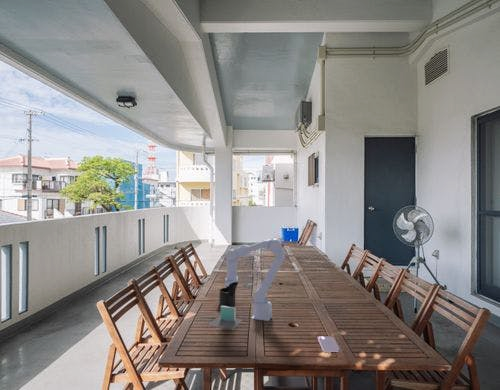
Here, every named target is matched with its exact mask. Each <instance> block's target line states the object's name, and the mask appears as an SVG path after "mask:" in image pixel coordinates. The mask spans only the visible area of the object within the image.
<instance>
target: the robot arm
mask: <svg viewBox="0 0 500 390" xmlns="http://www.w3.org/2000/svg"><path fill="white" fill-rule="evenodd" d="M260 249H266V250H270V251H271V252H272V254H273V255H274V259H273V262H272V263H271V266H270V267H269V269H268V271H267V273H266V274H265V277H264V279H263V280H262V282H261V284H260V286H258V287H257V289H256V290H255V292H254V293H253V296H252V297H253V315H252V317H251V319H253V320H260V321H266V322H269V321H270V320H271V318H272V317H273V305H272V302H271V301H268V298H267V296H268V292H269V291H268V290H269V289H270V287H271V285H272V283H273V281H274V279H275V277H276V275H277V274H278V272H279V270H280V269H281V266H282V264H283V263H284V261H285V259H286V253H285V243H284V241H283V239H281V237H274V238H268V239H263V240H262V241H259V242H256V243H254V244H251V245H248V244H241V245H240V246H238V247H233V248H231V249H229V250H228V251H226V253H225V259H226V277H225V278H224V281H225V282H224V287H225V288H227V289H228V293H229V296H231V297H233V296H234V294H235V295H236V290H237V287H238V284H239V282H238V280H239V276H238V259H240V258H243V257H246V256H249V255H250V254H251V252H254V251H258V250H260Z"/></svg>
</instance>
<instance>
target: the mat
mask: <svg viewBox="0 0 500 390" xmlns="http://www.w3.org/2000/svg"><path fill="white" fill-rule="evenodd" d="M242 321H243V319H240V318H236V321H235V322H234V321H227V320H221V315H218V316H217V317H216V318H215V319H213V320H212V321H211V322H210V323H209V324H208V326H209V327H216V328H221V329H229V330H235V329H236V328H237V326H239V325H240V323H241V322H242Z"/></svg>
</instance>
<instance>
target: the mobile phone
mask: <svg viewBox="0 0 500 390" xmlns="http://www.w3.org/2000/svg"><path fill="white" fill-rule="evenodd" d="M317 340H318V342H319V345H320V347H321V350H322V352H323V351H324V352H327V353H326V354H332V353H331V352H339V351H338V350H339V349H340V347H339V345H338V343H337V342H336V339H335V337H334V336H327V335H325V336H323V335H321V336H320V335H319V336H317ZM324 352H323V353H324Z"/></svg>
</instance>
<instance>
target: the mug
mask: <svg viewBox="0 0 500 390" xmlns="http://www.w3.org/2000/svg"><path fill="white" fill-rule="evenodd" d="M218 294H219V302H218V304H219V306H220V307H221V306H228V307H236V293H235V294H234V296H233V297H231V296H229V293H228V289H227V287H222V288H220V289H219V293H218Z"/></svg>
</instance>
